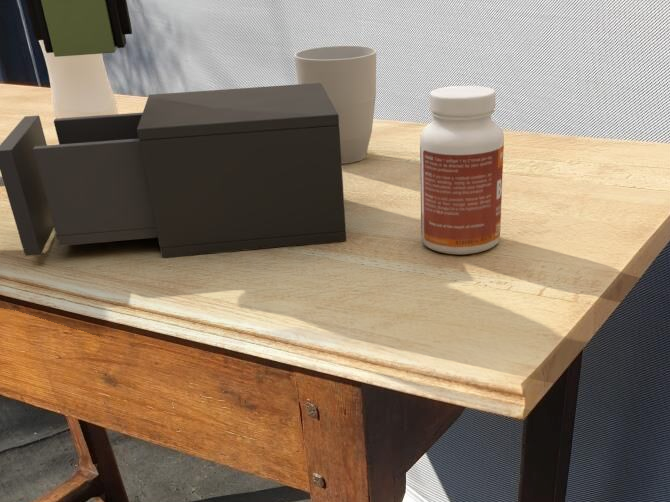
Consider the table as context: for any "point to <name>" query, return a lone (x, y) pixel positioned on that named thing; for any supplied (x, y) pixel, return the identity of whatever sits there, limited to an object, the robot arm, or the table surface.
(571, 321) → the table surface
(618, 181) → the table surface
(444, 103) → the pill bottle
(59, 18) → the block
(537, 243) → the table surface
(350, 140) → the cup
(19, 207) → the grey drawer with handle
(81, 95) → the water bottle
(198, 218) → the dark grey box
